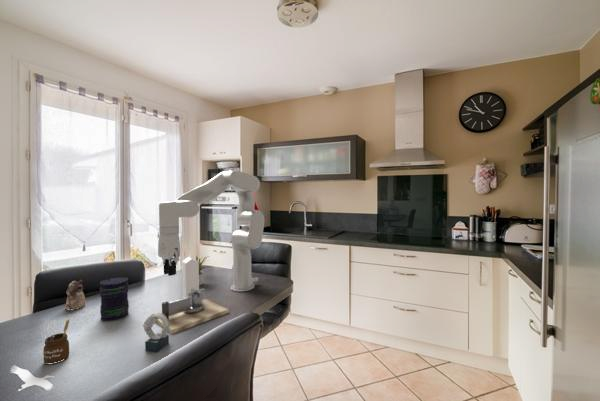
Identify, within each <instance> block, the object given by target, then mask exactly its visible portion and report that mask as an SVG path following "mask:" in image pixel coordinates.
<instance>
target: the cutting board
mask: <svg viewBox="0 0 600 401" xmlns="http://www.w3.org/2000/svg"><path fill="white" fill-rule="evenodd" d="M202 304H204V309H203V310H202V311H200V312H197V313H191V314H189V313H185V312H181V313H177V314H174V315H171V316H169V319H168V322H169V329H168V331H167V333H170V334H171V335H173V334H176V333H178V332H181V331H184V330H186V329H189V328H191V327H195V326H197V325H199V324H202V323H205V322H208V321H211V320H213V319H216V318H219V317H220V316H223V315H226V314H228V313H229V308H226V307H225V306H223V305H220V304H218V303H216V302H215V301H212V300H210V299H208V298H205V299H202ZM155 324H157V325H159V326H160V327H162V328H163V327H164V324H163V322H162V321H161V320H160V319H159V318H158V319H157V321H156V322H155Z"/></svg>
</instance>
